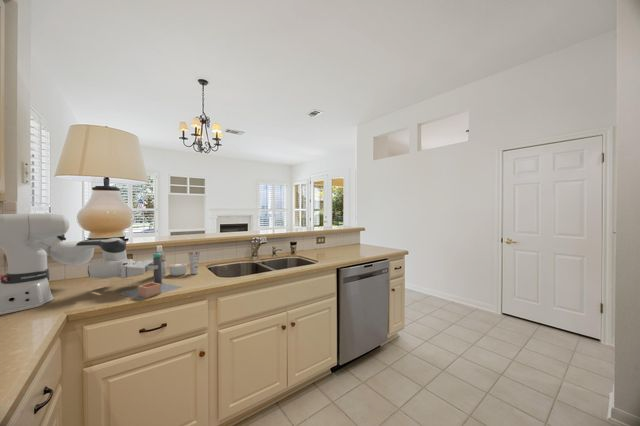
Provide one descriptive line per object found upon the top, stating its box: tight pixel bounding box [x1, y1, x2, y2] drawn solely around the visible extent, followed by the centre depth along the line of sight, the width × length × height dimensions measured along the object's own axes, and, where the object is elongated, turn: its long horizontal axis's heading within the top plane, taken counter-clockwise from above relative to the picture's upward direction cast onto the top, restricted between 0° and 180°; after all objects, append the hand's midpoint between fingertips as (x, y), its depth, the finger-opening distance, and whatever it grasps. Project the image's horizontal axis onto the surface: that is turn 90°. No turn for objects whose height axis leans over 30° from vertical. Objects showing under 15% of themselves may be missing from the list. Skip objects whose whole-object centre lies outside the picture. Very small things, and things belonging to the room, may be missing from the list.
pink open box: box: [137, 281, 162, 299], centre depth 117 cm, size 7×7×4 cm
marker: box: [152, 253, 163, 284], centre depth 132 cm, size 4×4×16 cm
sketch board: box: [117, 282, 182, 301], centre depth 123 cm, size 20×19×1 cm
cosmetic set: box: [152, 245, 201, 278], centre depth 153 cm, size 25×9×19 cm, turn 114°
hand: (159, 265), depth 132 cm, fingers closed on marker, 4 cm apart
